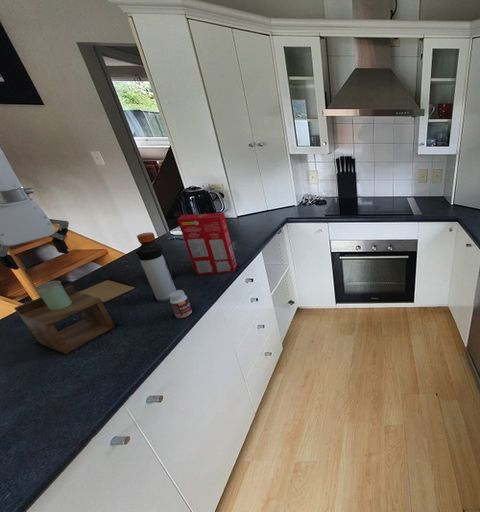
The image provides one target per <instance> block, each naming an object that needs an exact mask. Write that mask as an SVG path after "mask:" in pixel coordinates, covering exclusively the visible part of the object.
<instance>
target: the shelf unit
mask: <svg viewBox="0 0 480 512" xmlns="http://www.w3.org/2000/svg"><path fill="white" fill-rule="evenodd" d="M63 288H64V290H65V291H66V293H67V295H68V296H69V298H70V300H71V301H72V303H71V304H70V305H69V306H67V307H65V308H62V309H59V310H50V309H49V308H48V307H47V305H46V303H45V302H44V300H43V299H42V297H41V296H40V297H38V298H35V299H33V300H30V301H27V302H25V303H23V304H20V305H17V306H16V307H14V308H13V309H14V310H15V311H16V313H17V314H18V316H19V317H20V318H21V320H22V321H23V322H24V324H25V325H26V327H27V328H28V329H29V331H30V332H31V333H32V335H33V336H34V337H35V339H36V340H37V342H38V343H39V345H42V346H45V347H47V348H50V349H51V350H52V349H53V350H54V351H57V352H60V353H62V354H64V355H66V354H68V353H70V352H71V351H73V350H76V349H77V348H79V347H81V346H83V345H84V344H86V343H89V342H90V341H92V340H93V339H95V338H97V337H99V336H101V335H103V334H104V333H106V332H108V331H110V330H112V329H113V328H116V325H115V323H114V321H113V320H112V318H111V316H110V314H109V312H108V311H107V309H106V307H105V305H104V302H102V301H101V299H100V298H97V297H94V296H90V295H87V294H84V293H81V292H80V291H77V289H76V288H75V286H74V285H72V284H71V285H69V286H66V287H63ZM79 312H81V314H82V316H83V317H84V318H83V319H81V320H79V321H77V322H75V323H73V324H71V325H69V326H66V327H65V328H62V329H60V330H59V331H58V329H57V328H56V327H55V325H54V324H55V323H57V322H59V321H61V320H64V319H65V318H68V317H70V316H72V315H74V314H76V313H79Z"/></svg>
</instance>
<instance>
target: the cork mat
mask: <svg viewBox="0 0 480 512" xmlns="http://www.w3.org/2000/svg"><path fill="white" fill-rule="evenodd" d="M134 289H136V287H134V286H131V285H126V284H123V283H119V282H116V281H113V280H108V279H107V280H104V281H102V282H100V283H97V284H94V285H92V286H90V287H88V288H85V289H83V290H80V291H79V292H81V293H84V294H87V295H90V296H94V297H97V298H100V299H101V301H102V303H106V302H109V301H111V300H113V299H114V298H117V297H119V296H121V295H124V294H126V293H128V292H130V291H132V290H134Z"/></svg>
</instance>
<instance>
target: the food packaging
mask: <svg viewBox="0 0 480 512" xmlns="http://www.w3.org/2000/svg"><path fill="white" fill-rule="evenodd" d="M177 222H178V225H179V228H180V232H181V234H182V237H183V240H184V243H185V247H186V248H187V252H188V256H189V257H190V260H191V263H192V266H193V269H194V273H195V275H196V276H201V275H211V274H212V275H213V274H223V273H234V272H235V271H236V270H237V268H238V263H237V260H236V256H235V252H234V247H233V244H232V240H231V235H230V231H229V228H228V224H227V220H226V216H225V213H224V212H215V213H214V212H212V213H197V214H182V215H181V216H180V217H178V218H177Z"/></svg>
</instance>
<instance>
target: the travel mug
mask: <svg viewBox="0 0 480 512" xmlns="http://www.w3.org/2000/svg"><path fill="white" fill-rule="evenodd" d="M135 254H136V255H137V257H138V259H139V261H140V264H141V266H142V269H143V272H144V273H145V277H146V278H147V280H148V283H149V286H150V287H151V290H152V292H153V294H154V297H155V299H156V301H157V302H167V301H170V297H169V294H170V293H171V292H173V291H177V289H176V286H175V283H174V281H173V279H172V278H171V275H170V273H169V270H168V268H167V265H166V262H165V260H164V257H163V255H162V253H161V250H160V248H159V247H158V248H157V247H146V248H141V249H139V248H138V249H136V250H135Z"/></svg>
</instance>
